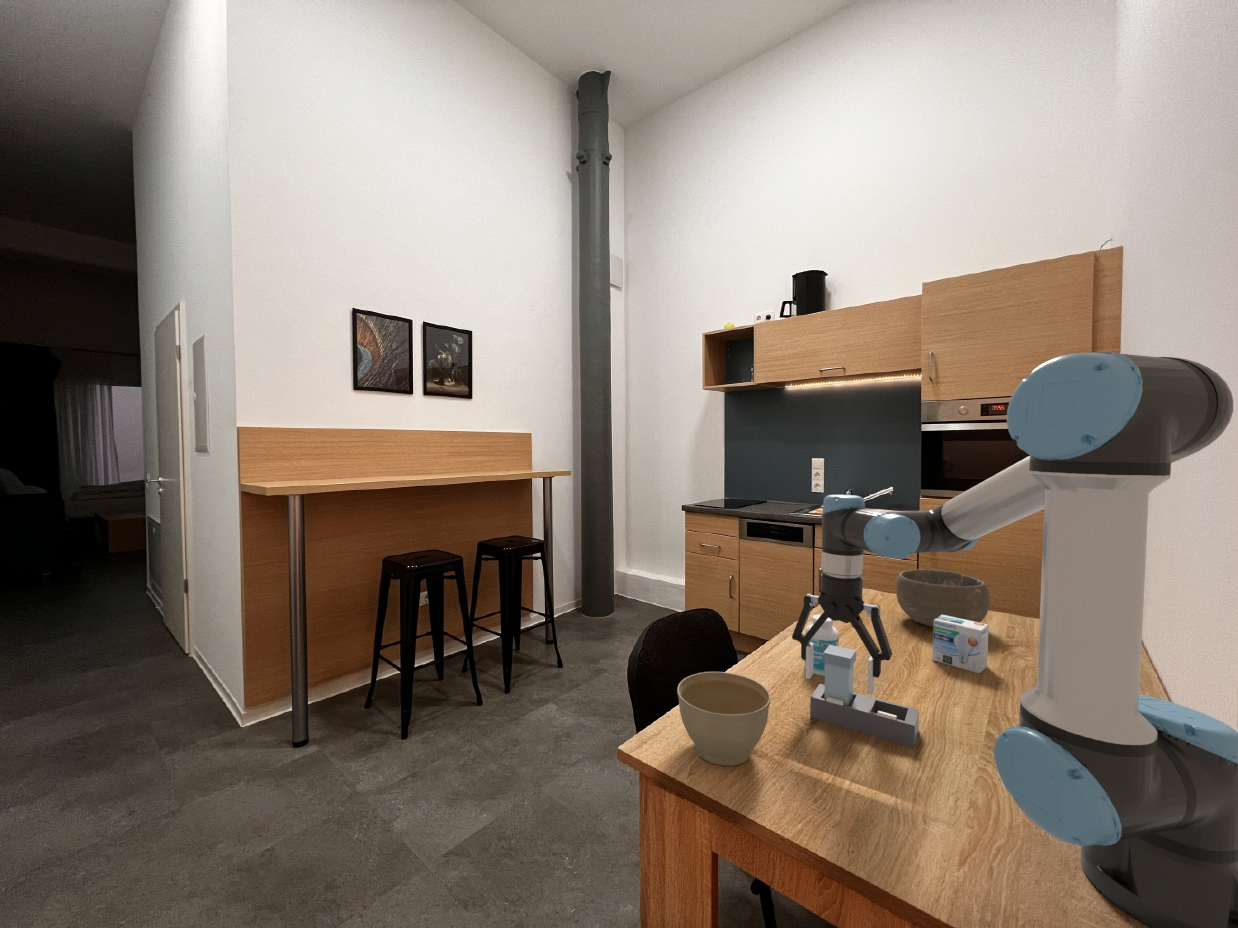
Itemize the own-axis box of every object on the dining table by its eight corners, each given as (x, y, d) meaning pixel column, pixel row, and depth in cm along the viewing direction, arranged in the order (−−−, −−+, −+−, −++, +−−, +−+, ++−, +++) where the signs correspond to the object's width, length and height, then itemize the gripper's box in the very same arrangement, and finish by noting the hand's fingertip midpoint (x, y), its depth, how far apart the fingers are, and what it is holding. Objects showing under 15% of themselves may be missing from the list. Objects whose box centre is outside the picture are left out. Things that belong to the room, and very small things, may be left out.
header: (914, 753, 92) (915, 722, 91) (809, 721, 102) (810, 693, 102) (918, 735, 97) (919, 706, 97) (819, 707, 108) (819, 680, 107)
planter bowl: (705, 717, 103) (705, 663, 103) (783, 747, 93) (784, 688, 93) (658, 753, 91) (659, 692, 90) (743, 793, 81) (745, 725, 80)
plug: (849, 725, 99) (850, 658, 98) (821, 717, 102) (823, 652, 101) (854, 714, 103) (856, 650, 102) (828, 707, 106) (829, 644, 105)
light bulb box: (931, 660, 132) (932, 618, 132) (939, 653, 137) (941, 613, 137) (980, 674, 124) (982, 630, 124) (988, 666, 129) (989, 624, 129)
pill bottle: (802, 675, 123) (803, 619, 122) (806, 664, 129) (808, 610, 129) (836, 682, 119) (837, 624, 119) (839, 670, 126) (840, 615, 125)
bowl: (913, 607, 176) (914, 564, 176) (999, 627, 158) (1000, 578, 157) (882, 622, 161) (883, 574, 161) (972, 646, 142) (974, 592, 142)
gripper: (911, 578, 98) (908, 693, 98) (788, 562, 111) (786, 662, 112) (906, 587, 92) (903, 709, 92) (776, 568, 105) (774, 675, 106)
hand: (839, 683), depth 102 cm, fingers open, 11 cm apart
